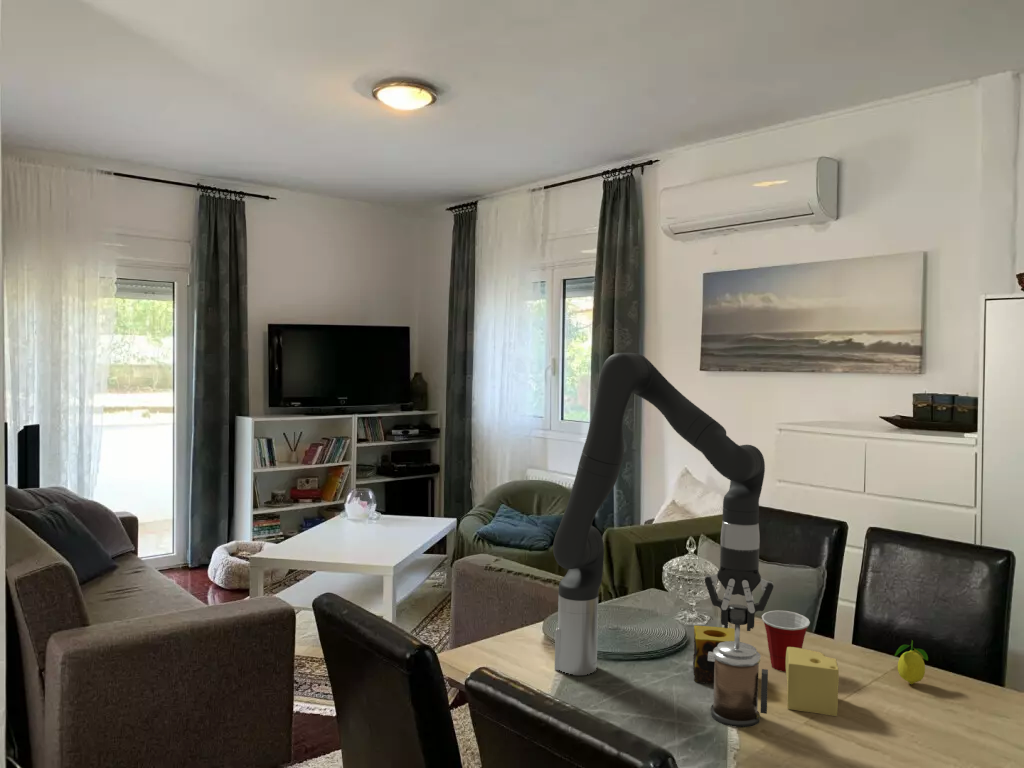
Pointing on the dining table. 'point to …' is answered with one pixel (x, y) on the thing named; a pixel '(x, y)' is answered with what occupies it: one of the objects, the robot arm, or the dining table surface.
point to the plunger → (737, 634)
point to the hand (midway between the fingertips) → (737, 628)
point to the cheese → (811, 681)
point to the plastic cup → (783, 634)
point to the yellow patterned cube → (708, 650)
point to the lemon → (911, 664)
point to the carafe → (737, 689)
